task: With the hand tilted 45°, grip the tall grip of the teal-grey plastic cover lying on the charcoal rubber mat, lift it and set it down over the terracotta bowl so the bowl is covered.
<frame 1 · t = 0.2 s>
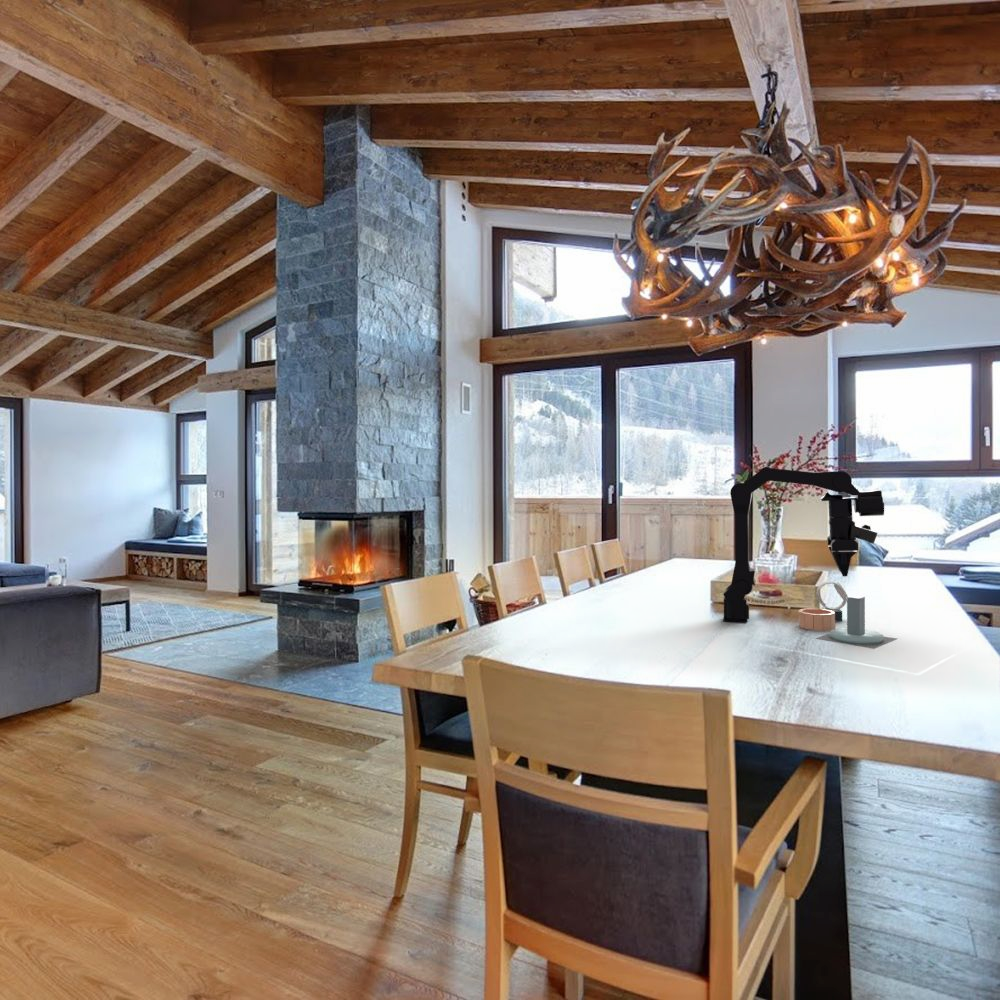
hand: (843, 573, 184), 14 cm above the table, tool pointing down, fingers open, 9 cm apart
cover: (856, 638, 169), resting on mat
mat: (856, 640, 169), on the table
watch: (832, 620, 193), on the table
bowl: (816, 627, 183), on the table
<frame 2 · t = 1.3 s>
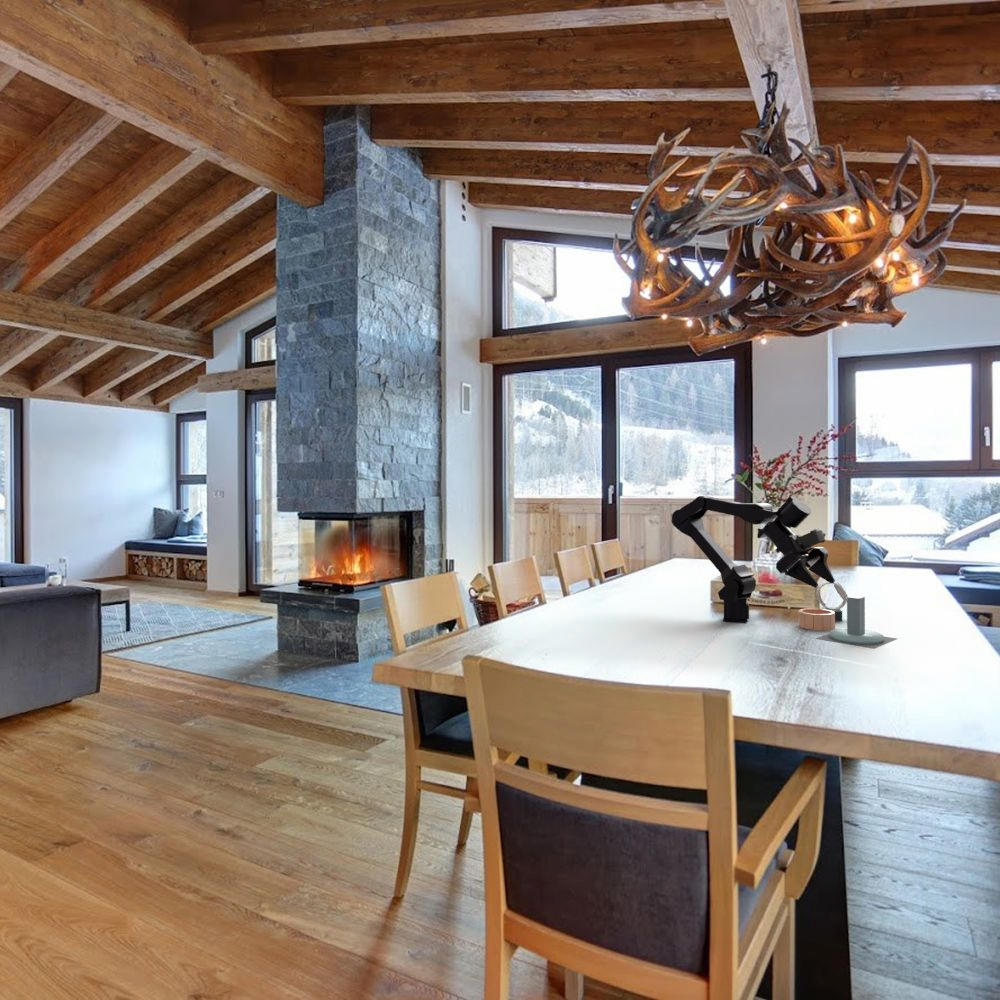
hand: (825, 584, 175), 13 cm above the table, tool tilted 45°, fingers open, 9 cm apart
nothing on the table moved.
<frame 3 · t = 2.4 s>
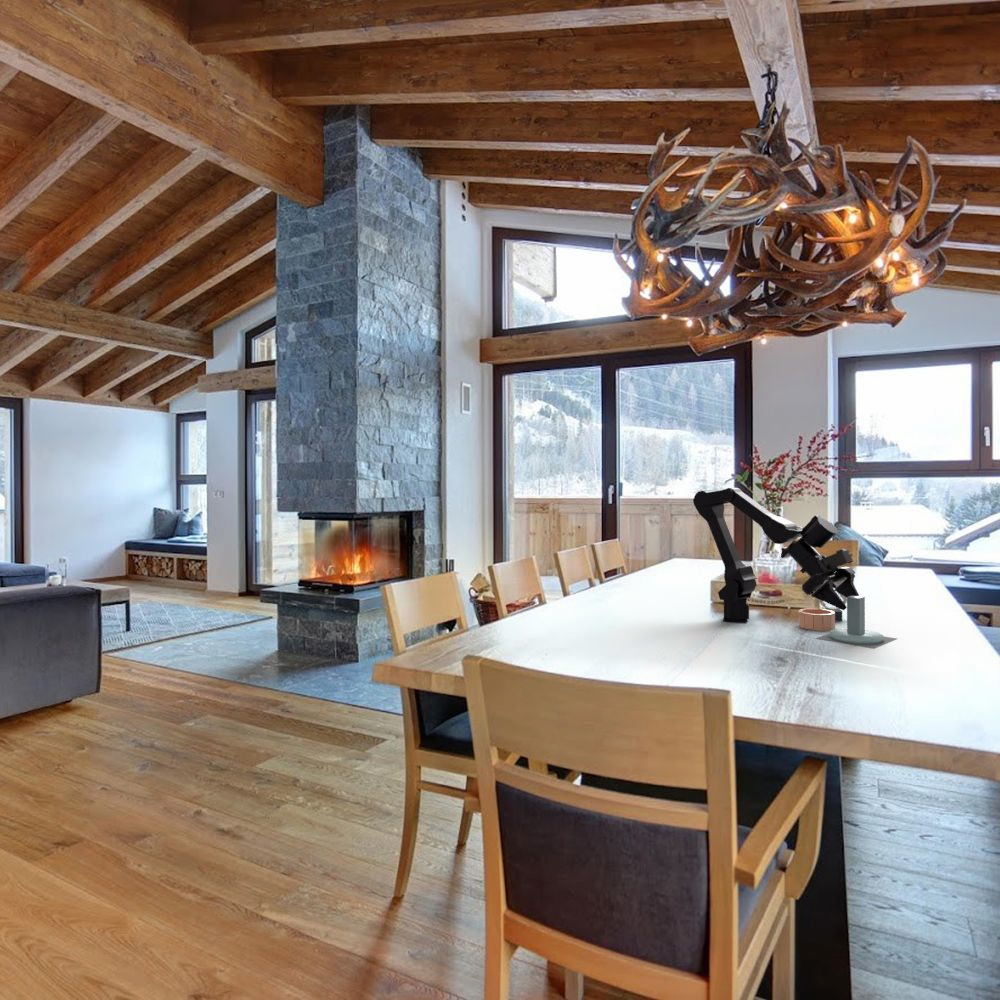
hand: (853, 606, 169), 8 cm above the table, tool tilted 45°, fingers open, 9 cm apart
nothing on the table moved.
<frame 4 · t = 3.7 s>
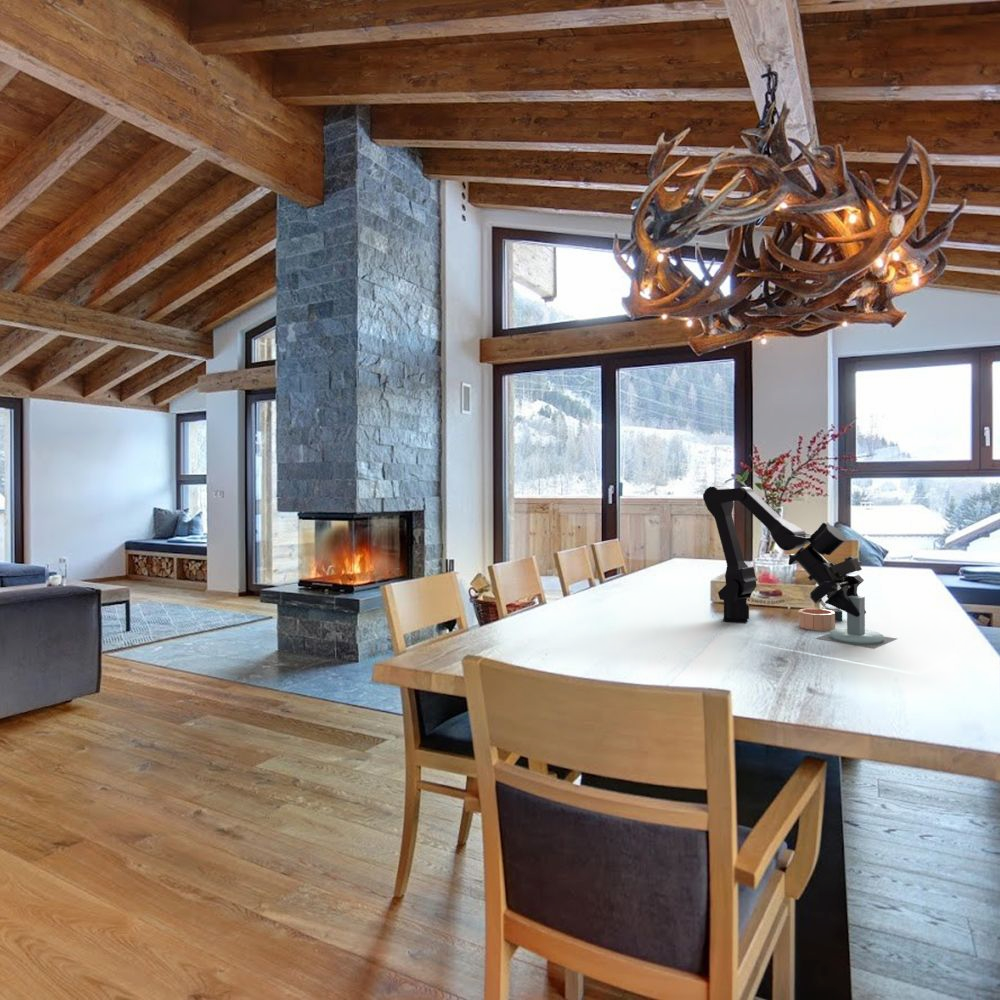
hand: (861, 614, 168), 7 cm above the table, tool tilted 45°, fingers closed on cover, 3 cm apart
cover: (856, 638, 169), resting on mat, touching gripper
everything else where it was.
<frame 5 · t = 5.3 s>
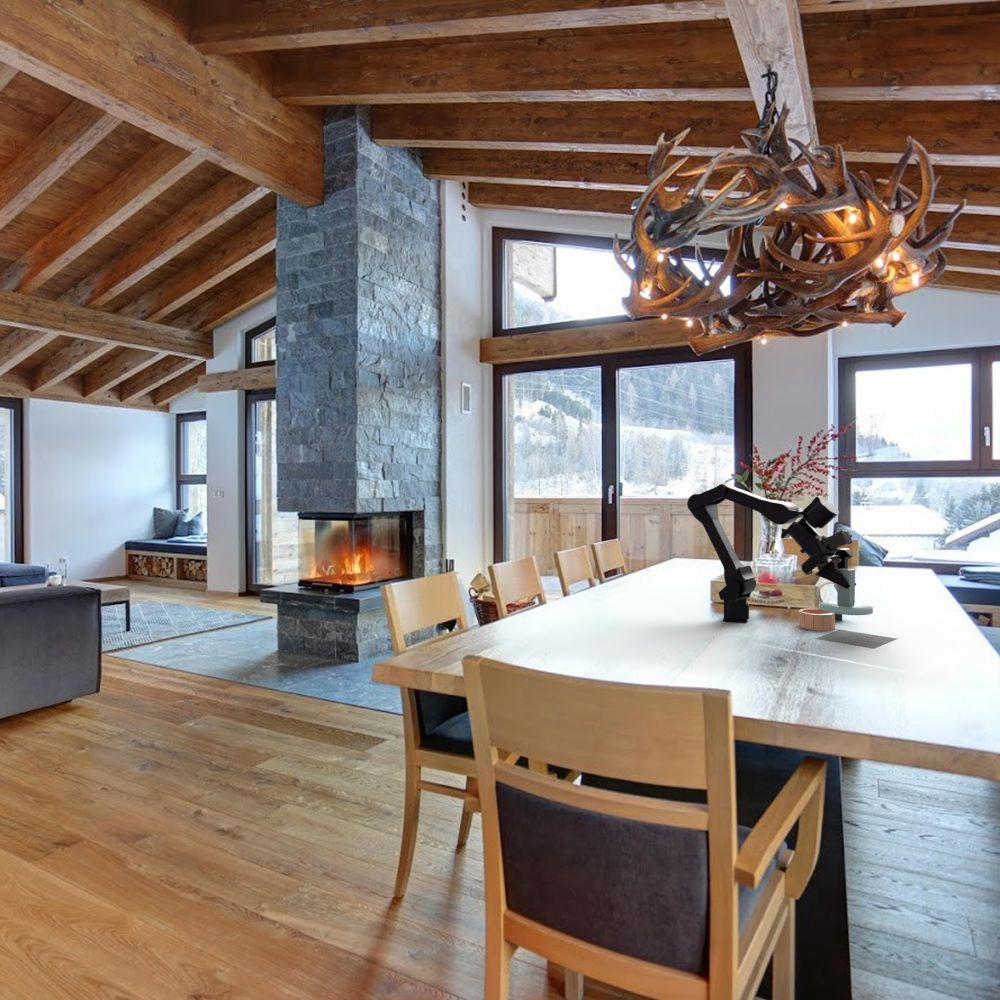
hand: (851, 586, 171), 13 cm above the table, tool tilted 45°, fingers closed on cover, 3 cm apart
cover: (845, 610, 172), point 7 cm above the table, touching gripper
everything else where it was.
when the fingers open (12 cm above the table, at t = 6.8 s): cover drops 1 cm, resting on bowl.
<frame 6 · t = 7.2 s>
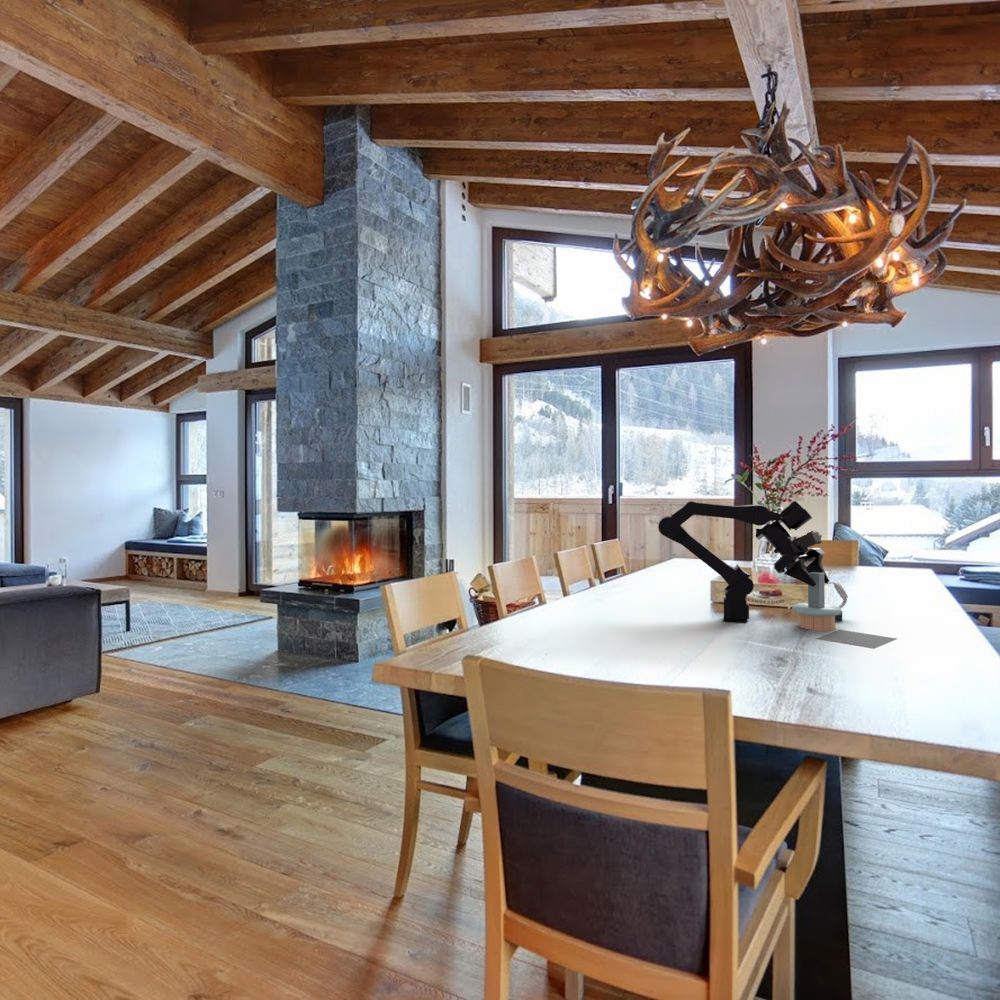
hand: (821, 584, 182), 12 cm above the table, tool tilted 45°, fingers open, 7 cm apart
cover: (816, 611, 183), point 4 cm above the table, touching bowl
everything else where it was.
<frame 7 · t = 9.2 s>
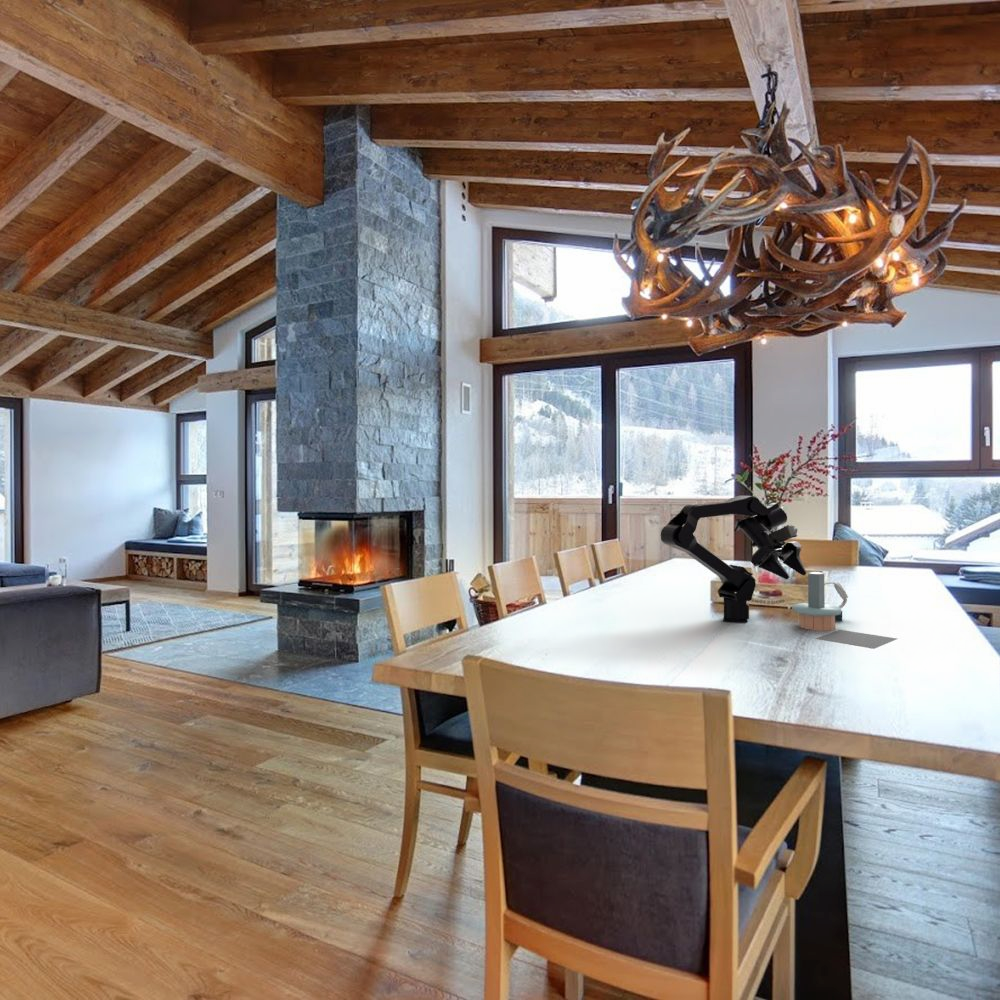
hand: (796, 576, 187), 14 cm above the table, tool tilted 45°, fingers open, 9 cm apart
nothing on the table moved.
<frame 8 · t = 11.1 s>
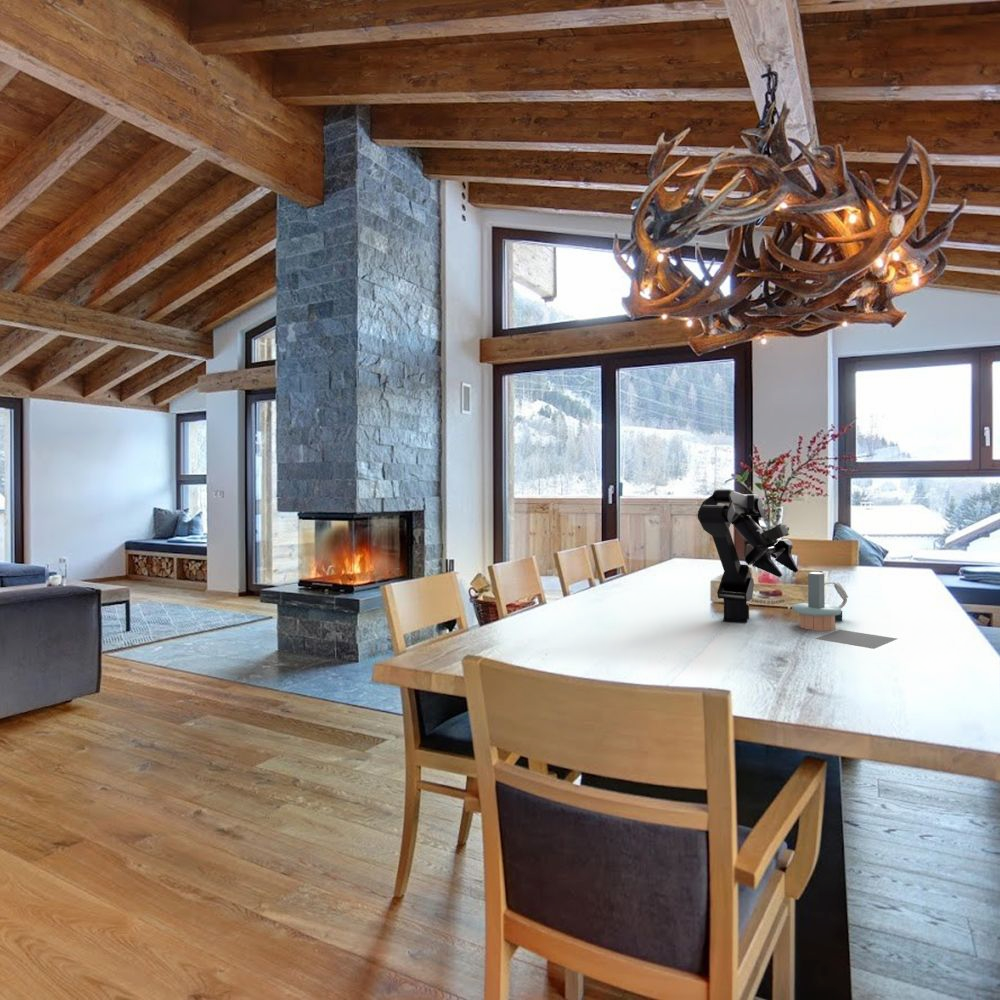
hand: (789, 573, 193), 13 cm above the table, tool tilted 45°, fingers open, 9 cm apart
nothing on the table moved.
at the end: cover 0.0 cm from the bowl (horizontally); cover point 4.5 cm above the table; cover tilted 0° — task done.
